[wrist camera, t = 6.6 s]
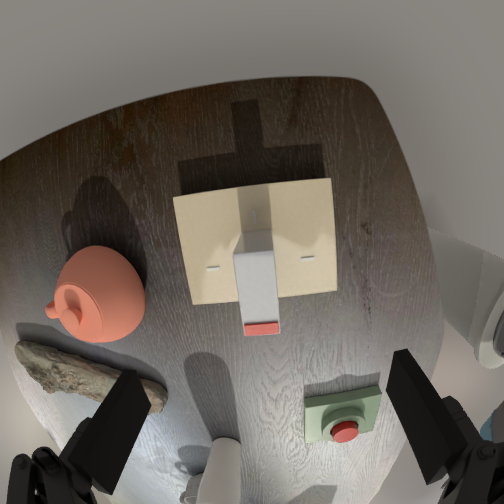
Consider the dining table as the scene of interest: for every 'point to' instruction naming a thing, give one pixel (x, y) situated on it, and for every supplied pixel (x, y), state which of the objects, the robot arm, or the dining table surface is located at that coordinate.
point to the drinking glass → (221, 474)
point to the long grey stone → (78, 374)
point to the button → (344, 431)
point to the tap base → (254, 219)
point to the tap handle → (257, 283)
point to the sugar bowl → (98, 296)
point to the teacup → (191, 490)
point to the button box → (340, 412)
